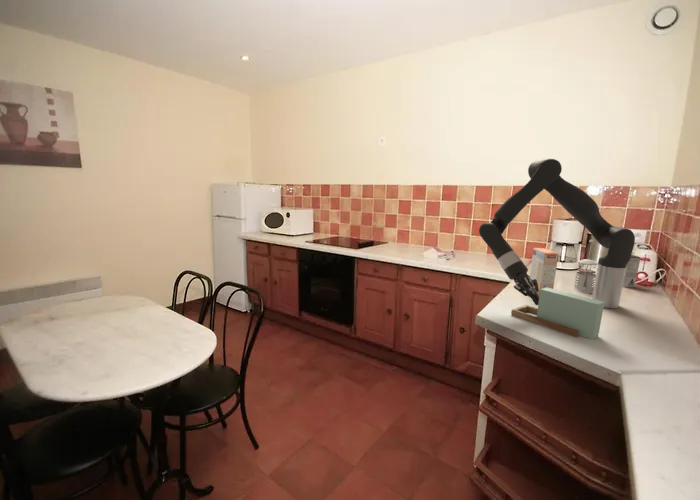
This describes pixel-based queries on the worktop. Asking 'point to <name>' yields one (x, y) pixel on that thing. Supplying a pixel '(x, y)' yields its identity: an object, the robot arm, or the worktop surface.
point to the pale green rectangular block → (571, 311)
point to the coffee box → (631, 271)
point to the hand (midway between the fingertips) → (539, 304)
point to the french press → (585, 276)
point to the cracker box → (543, 267)
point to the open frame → (542, 320)
